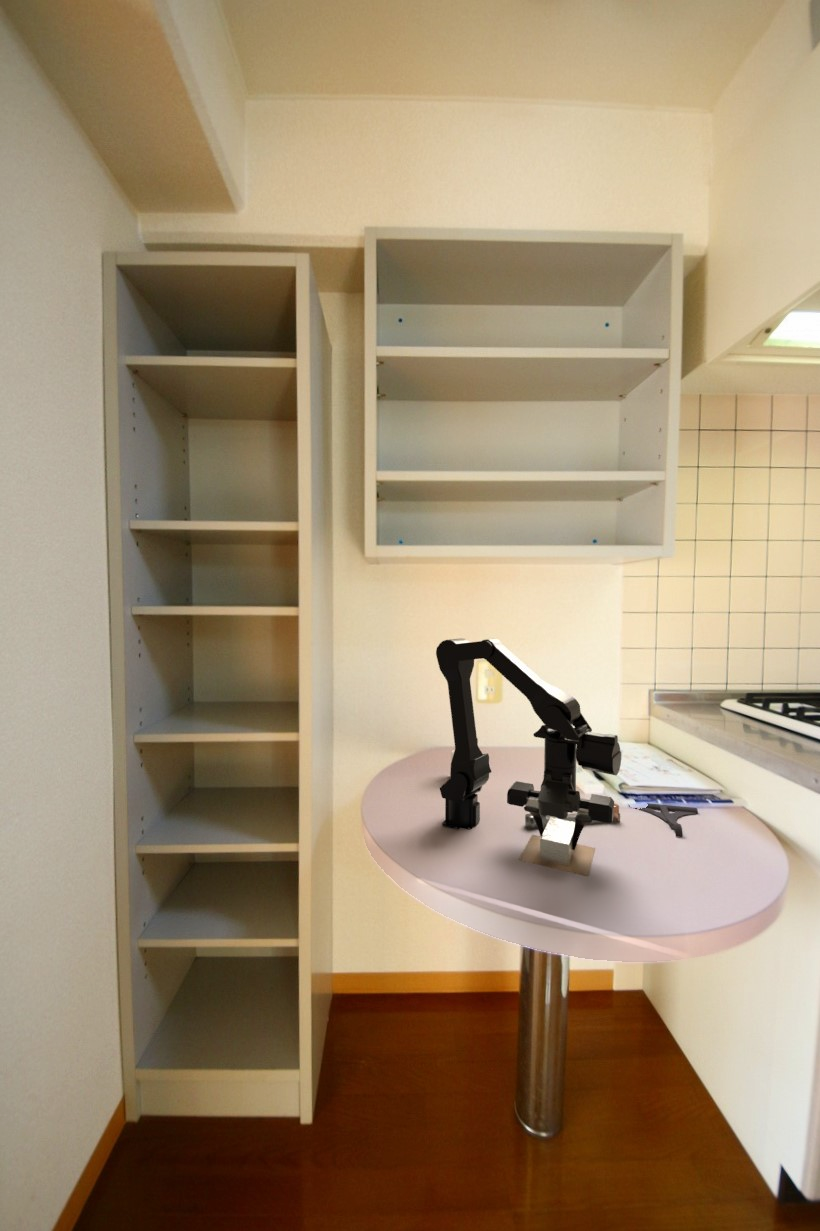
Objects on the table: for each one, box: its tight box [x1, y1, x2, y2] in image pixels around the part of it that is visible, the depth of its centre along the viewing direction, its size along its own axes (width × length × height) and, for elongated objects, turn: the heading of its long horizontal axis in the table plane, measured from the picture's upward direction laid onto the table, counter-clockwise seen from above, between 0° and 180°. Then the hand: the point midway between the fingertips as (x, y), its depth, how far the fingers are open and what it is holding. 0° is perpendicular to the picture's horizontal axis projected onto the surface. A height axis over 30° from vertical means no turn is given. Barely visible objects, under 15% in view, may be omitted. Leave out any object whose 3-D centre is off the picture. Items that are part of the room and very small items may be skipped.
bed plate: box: [518, 834, 596, 877], centre depth 91 cm, size 12×11×1 cm
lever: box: [524, 803, 621, 830], centre depth 104 cm, size 21×2×4 cm, turn 100°
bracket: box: [638, 802, 699, 838], centre depth 107 cm, size 14×15×3 cm
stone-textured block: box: [540, 817, 575, 867], centre depth 92 cm, size 5×10×4 cm, turn 153°
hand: (558, 845), depth 92 cm, fingers closed on stone-textured block, 5 cm apart
